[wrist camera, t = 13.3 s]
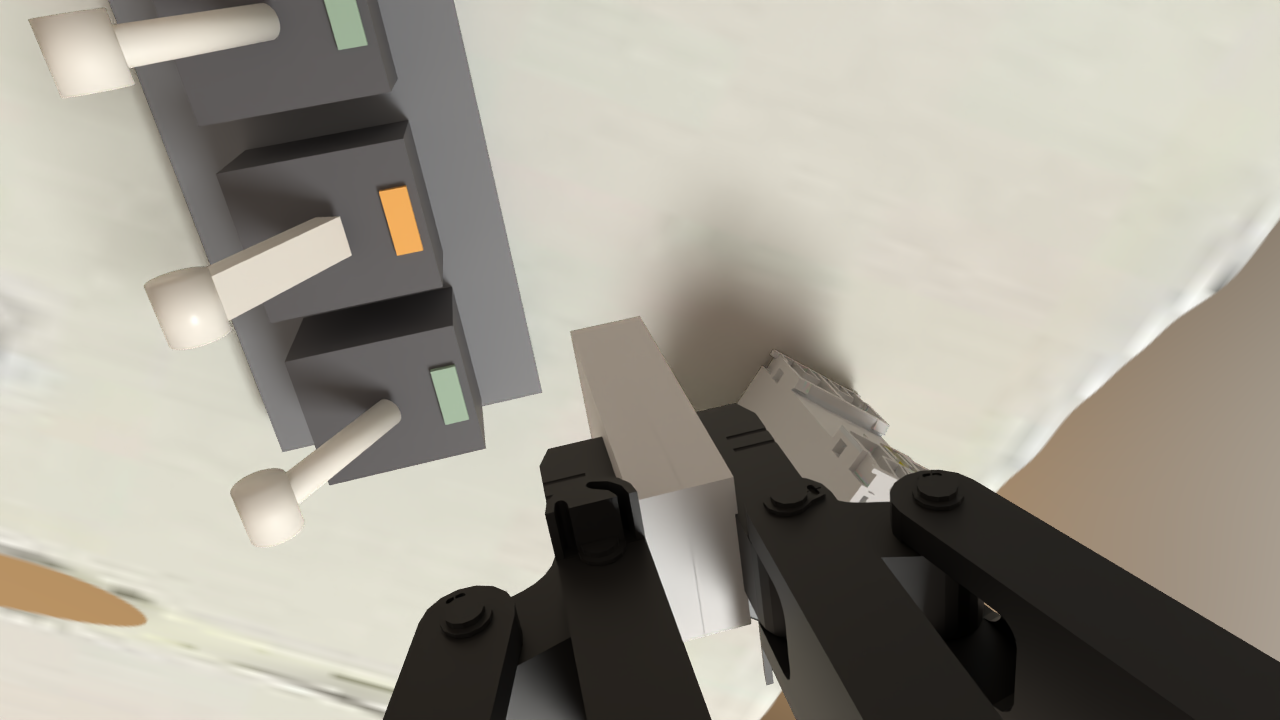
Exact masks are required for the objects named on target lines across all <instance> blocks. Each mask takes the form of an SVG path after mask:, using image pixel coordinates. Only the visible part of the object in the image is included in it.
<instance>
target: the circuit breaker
mask: <svg viewBox="0 0 1280 720" xmlns="http://www.w3.org/2000/svg"><path fill="white" fill-rule="evenodd" d="M770 355H771V356H772V357H774V358H773V360H772V361H771V363H770V364H769V366H768V367H767V368H766V367H764V366H762V367H761V368H760V370H759V371H758V373H757V374H756V376H755V377H754V379H753V380H752V382H751V383H750V385H749V386H748V388H747V389H746V391H745V392H744V394H743V395H742V397H741V398H740V400H739V401H738V403H737V404H739V405H740V406H742V407H744V408H746V409H748V410H750V411H752V412H754V413H756V414H757V416H758V417H759V419H760V420H761V421H762V423H763V424H764V426H765V427H766V430H768V431H769V433H770V434H771V435H772V437H773V438H774V441H775V442H777V444H778V445H779V446H780V448H781V449H782V451H783V452H784V453H785V455H786V456H787V457H788V459H789V460H790V462H791V463H792V464H793V466H794V467H795V469H796V470H797V471H798V473H799V474H800V475H801V477H802V478H808V479H811V480H813V481H816V482H819V483H822V484H823V485H824V486H825V487H826V488H828V489H829V490H830V491H831V492H832V493H833V494H834V496H835V497H836V498H837V500H839V501H844V502H861V503H862V502H889V501H890V490H891V488H892V486H893V485H894V483H895V482H896V481H897V480H899V479H900V478H902V477H903V476H905V475H907V474H911V473H915V472H918V471H923V470H929V469H927V468H925V467H923V466H921V465H919V464H917V463H915V462H914V461H913V460H912V459H911V458H910V457H909V456H907V455H905V454H903V453H901V452H899V451H897V450H895V449H893V448H891V447H890V446H889V445H888V444H887V443H886V442H885V440H884V439H883V438H882V437H881V436H882V435H885V434H886V432H887V430H888V427H889V424H888V423H887V422H886V421H884V420H883V419H882V418H881V417H880V416H879V415H878V414H877V413H876V412H875V411H874V410H873V409H872V408H871V407H870V406H869V405H868V404H867V403H865V402H863V401H862V400H861V399H860V396H859V395H858V394H856V393H855V392H853V391H851V390H849V389H847V388H845V387H843V386H842V385H840V384H838V383H836V382H834V381H832V380H830V379H829V378H827V377H825V376H823V375H821V374H819V373H817V372H816V371H814V370H812V369H810V368H808V367H806V366H804V365H803V364H801V363H799V362H797V361H795V360H793V359H791V358H790V357H788V356H786V355H784V354H782V353H780V352H778V351H777V350H775V349H773V350H772V352H771V353H770ZM748 601H749V599H748ZM749 610H750V618H752V619H754V620H757V621H758V617H757V615H756V613H755V611H754V609H753V607H752V605H751V603H750V601H749Z"/></svg>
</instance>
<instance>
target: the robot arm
mask: <svg viewBox="0 0 1280 720" xmlns="http://www.w3.org/2000/svg"><path fill="white" fill-rule="evenodd" d="M570 333H571V338H572V343H573V348H574V353H575V358H576V363H577V368H578V373H579V378H580V383H581V388H582V393H583V398H584V403H585V408H586V413H587V418H588V423H589V428H590V433H591V438H592V439H589V440H585V441H580V442H576V443H572V444H568V445H563V446H559V447H555V448H551V449H548V450H547V452H546V454H545V456H544V458H543V460H542V462H541V464H540V471H541V477H542V482H543V487H544V492H545V497H546V503H547V504H546V511H545V516H546V520H547V524H548V529H549V533H550V537H551V541H552V545H553V550H554V554H555V558H554V561H553V564H552V566H551V568H550V569H549V570H548V572H547V573H546V574H545V575H544V576H543V577H542V578H541V579H540V580H539V581H538V582H536V583H535V584H534V585H532V586H530V587H529V588H527V589H526V590H524V591H522V592H520V593H518V594H516V595H514V596H512V597H510V596H509V594H508V593H507V592H506V591H504V590H501V589H499V588H496V587H494V586H472V587H468V588H464V589H459V590H457V591H455V592H453V593H450V594H448V595H446V596H444V597H442V598H441V599H439V600H438V601H437V602H436V603H435V604H433V605H432V606H431V607H430V608H429V609H428V610H427V611H426V612H425V614H424V616H423V617H422V619H421V620H420V622H419V624H418V627H417V629H416V632H415V635H414V637H413V640H412V643H411V645H410V648H409V651H408V653H407V656H406V659H405V662H404V664H403V667H402V670H401V672H400V675H399V678H398V680H397V683H396V686H395V688H394V691H393V694H392V696H391V699H390V702H389V704H388V707H387V710H386V713H385V715H384V718H383V720H711V717H710V714H709V712H708V709H707V706H706V703H705V701H704V698H703V695H702V692H701V690H700V687H699V684H698V681H697V679H696V676H695V673H694V670H693V668H692V665H691V662H690V659H689V657H688V654H687V651H686V648H685V646H684V643H683V642H686V641H689V640H693V639H697V638H701V637H704V636H708V635H712V634H716V633H719V632H723V631H727V630H730V629H734V628H738V627H742V626H745V625H749V624H751V618H750V610H749V601H750V603H751V605H752V607H753V609H754V611H755V613H756V615H757V617H758V623H759V632H760V640H761V649H762V658H763V666H764V674H765V680H766V685H769V684H773V674H772V670H773V672H774V674H775V676H776V678H777V680H778V682H779V684H780V686H781V689H782V691H783V693H784V695H785V697H786V699H787V701H788V703H789V705H790V708H791V710H792V712H793V714H794V716H795V718H796V720H1280V662H1279V661H1277V660H1275V659H1273V658H1272V657H1270V656H1269V655H1267V654H1265V653H1263V652H1261V651H1260V650H1258V649H1257V648H1255V647H1253V646H1252V645H1250V644H1248V643H1247V642H1245V641H1243V640H1242V639H1240V638H1238V637H1236V636H1235V635H1233V634H1231V633H1230V632H1228V631H1226V630H1225V629H1223V628H1222V627H1220V626H1218V625H1216V624H1215V623H1213V622H1211V621H1210V620H1208V619H1206V618H1204V617H1203V616H1201V615H1200V614H1198V613H1196V612H1195V611H1193V610H1191V609H1189V608H1188V607H1186V606H1185V605H1183V604H1181V603H1180V602H1178V601H1176V600H1175V599H1173V598H1171V597H1169V596H1168V595H1166V594H1164V593H1163V592H1161V591H1159V590H1157V589H1156V588H1154V587H1153V586H1151V585H1149V584H1148V583H1146V582H1144V581H1143V580H1141V579H1139V578H1138V577H1136V576H1134V575H1133V574H1131V573H1129V572H1128V571H1126V570H1124V569H1122V568H1121V567H1119V566H1117V565H1115V564H1114V563H1112V562H1111V561H1109V560H1107V559H1106V558H1104V557H1102V556H1101V555H1099V554H1097V553H1095V552H1094V551H1092V550H1091V549H1089V548H1087V547H1086V546H1084V545H1082V544H1080V543H1079V542H1077V541H1075V540H1074V539H1072V538H1070V537H1069V536H1067V535H1065V534H1063V533H1062V532H1060V531H1059V530H1057V529H1055V528H1054V527H1052V526H1050V525H1049V524H1047V523H1045V522H1044V521H1042V520H1040V519H1039V518H1037V517H1035V516H1033V515H1032V514H1030V513H1028V512H1027V511H1025V510H1023V509H1022V508H1020V507H1018V506H1017V505H1015V504H1013V503H1012V502H1010V501H1008V500H1007V499H1005V498H1003V497H1001V496H1000V495H998V494H997V493H995V492H993V491H992V490H990V489H988V488H986V487H985V486H983V485H981V484H980V483H978V482H976V481H975V480H973V479H971V478H968V477H966V476H964V475H961V474H959V473H955V472H949V471H943V470H923V471H918V472H915V473H911V474H907V475H905V476H903V477H902V478H900V479H899V480H897V481H896V482H895V483H894V485H893V486H892V488H891V490H890V501H889V502H862V503H861V502H844V501H839V500H837V498H836V497H835V496H834V494H833V493H832V492H831V491H830V490H829V489H828V488H826V487H825V486H824V485H823V484H822V483H819V482H816V481H813V480H811V479H808V478H802V477H801V475H800V474H799V473H798V471H797V470H796V469H795V467H794V466H793V464H792V463H791V462H790V460H789V459H788V457H787V456H786V455H785V453H784V452H783V451H782V449H781V448H780V446H779V445H778V444H777V442H775V441H774V438H773V437H772V435H771V434H770V433H769V431H768V430H766V427H765V426H764V424H763V423H762V421H761V420H760V419H759V417H758V416H757V414H756V413H754V412H752V411H750V410H748V409H746V408H744V407H742V406H740V405H739V404H737V403H734V404H730V405H725V406H721V407H717V408H712V409H708V410H704V411H700V412H695V410H694V408H693V406H692V405H691V403H690V401H689V400H688V398H687V396H686V394H685V393H684V391H683V389H682V388H681V386H680V384H679V382H678V381H677V379H676V377H675V376H674V374H673V372H672V370H671V369H670V367H669V365H668V364H667V362H666V360H665V358H664V357H663V355H662V353H661V352H660V350H659V348H658V346H657V345H656V343H655V341H654V340H653V338H652V336H651V334H650V333H649V331H648V329H647V328H646V326H645V324H644V322H643V321H642V319H641V317H640V316H638V317H633V318H629V319H624V320H619V321H615V322H610V323H606V324H601V325H596V326H592V327H587V328H583V329H578V330H574V331H570ZM748 599H749V601H748ZM984 602H985V603H986V604H987V605H989V606H990V607H991V608H993V609H994V610H995V611H997V612H998V613H999V614H1000V615H999V614H998V613H996V612H994V611H992V610H991V609H990V608H988V607H987V606H986V605H984Z"/></svg>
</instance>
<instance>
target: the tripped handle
mask: <svg viewBox="0 0 1280 720" xmlns="http://www.w3.org/2000/svg"><path fill="white" fill-rule="evenodd" d="M351 255H352V254H351V251H350V248H349V244H348V241H347V238H346V235H345V231H344V228H343V225H342V222H341V219H340V216H336V217H315V218H313V219H311V220H308V221H306V222H304V223H302V224H300V225H297V226H295V227H293V228H291V229H289V230H286V231H284V232H282V233H280V234H278V235H275V236H273V237H271V238H269V239H267V240H264V241H262V242H260V243H258V244H256V245H253V246H251V247H249V248H247V249H245V250H242V251H240V252H238V253H236V254H234V255H231V256H229V257H227V258H225V259H223V260H220V261H218V262H216V263H214V264H212V265H209V266H207V267H190V268H185V269H180V270H176V271H173V272H169V273H166V274H163V275H161V276H158V277H156V278H154V279H152V280H150V281H148V282H147V283H145V284H144V288H145V291H146V293H147V295H148V298H149V300H150V302H151V305H152V307H153V310H154V312H155V314H156V317H157V319H158V321H159V324H160V326H161V328H162V331H163V333H164V335H165V338H166V340H167V342H168V345H169V347H170V348H171V349H173V350H186V349H192V348H196V347H200V346H204V345H207V344H209V343H212V342H215V341H217V340H219V339H221V338H223V337H224V336H226V335H227V334H228V333H230V331H231V329H232V328H231V325H230V323H229V321H230V320H232V319H233V318H235V317H237V316H239V315H241V314H243V313H245V312H247V311H248V310H250V309H252V308H254V307H256V306H258V305H260V304H262V303H263V302H265V301H267V300H269V299H271V298H273V297H275V296H277V295H278V294H280V293H282V292H284V291H286V290H288V289H290V288H291V287H293V286H295V285H297V284H299V283H301V282H303V281H305V280H306V279H308V278H310V277H312V276H314V275H316V274H318V273H320V272H321V271H323V270H325V269H327V268H329V267H331V266H333V265H335V264H336V263H338V262H340V261H342V260H344V259H346V258H348V257H350V256H351Z"/></svg>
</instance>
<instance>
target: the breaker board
mask: <svg viewBox="0 0 1280 720" xmlns="http://www.w3.org/2000/svg"><path fill="white" fill-rule="evenodd" d="M109 3H110V6H111V8H112V11H113V13H114V16H115V19H116V21H117V24H115V25H112V23H111V21H110V18H109V16H108V13H107V10H106V8H98V9H90V10H82V11H75V12H68V13H62V14H55V15H49V16H43V17H38V18H33V19H29V20H28V21H29V23H30V25H31V28H32V30H33V32H34V35H35V37H36V39H37V42H38V44H39V46H40V49H41V51H42V53H43V56H44V58H45V60H46V63H47V65H48V67H49V70H50V72H51V74H52V77H53V79H54V81H55V84H56V86H57V89H58V91H59V93H60V96H61V98H70V97H76V96H82V95H88V94H94V93H99V92H104V91H110V90H114V89H119V88H124V87H128V86H132V85H135V83H134V80H133V77H132V75H131V72H130V70H129V68H133V67H134V68H135V70H136V73H137V76H138V78H139V81H140V83H141V86H142V89H143V91H144V94H145V96H146V99H147V102H148V104H149V107H150V109H151V112H152V115H153V117H154V120H155V122H156V125H157V128H158V130H159V133H160V135H161V138H162V141H163V143H164V146H165V148H166V151H167V153H168V156H169V159H170V161H171V164H172V166H173V169H174V172H175V174H176V177H177V179H178V182H179V185H180V187H181V190H182V192H183V195H184V198H185V200H186V203H187V205H188V208H189V211H190V213H191V216H192V218H193V221H194V224H195V226H196V229H197V231H198V234H199V236H200V239H201V242H202V244H203V247H204V249H205V252H206V255H207V257H208V260H209V262H210V265H212V264H214V263H216V262H218V261H220V260H223V259H225V258H227V257H229V256H231V255H234V254H236V253H238V252H240V251H242V250H245V249H247V248H249V247H251V246H253V245H256V244H258V243H260V242H262V241H264V240H267V239H269V238H271V237H273V236H275V235H278V234H280V233H282V232H284V231H286V230H289V229H291V228H293V227H295V226H297V225H300V224H302V223H304V222H306V221H308V220H311V219H313V218H315V217H336V216H340V219H341V222H342V225H343V228H344V231H345V235H346V238H347V241H348V244H349V248H350V251H351V254H352V255H351V256H350V257H348V258H346V259H344V260H342V261H340V262H338V263H336V264H335V265H333V266H331V267H329V268H327V269H325V270H323V271H321V272H320V273H318V274H316V275H314V276H312V277H310V278H308V279H306V280H305V281H303V282H301V283H299V284H297V285H295V286H293V287H291V288H290V289H288V290H286V291H284V292H282V293H280V294H278V295H277V296H275V297H273V298H271V299H269V300H267V301H265V302H263V303H262V304H260V305H258V306H256V307H254V308H252V309H250V310H248V311H247V312H245V313H243V314H241V315H239V316H237V317H235V318H233V319H232V322H233V325H234V327H235V330H236V332H237V335H238V338H239V340H240V343H241V345H242V348H243V351H244V353H245V356H246V358H247V361H248V364H249V366H250V369H251V371H252V374H253V377H254V379H255V382H256V384H257V387H258V390H259V392H260V395H261V397H262V400H263V403H264V405H265V408H266V410H267V413H268V415H269V418H270V421H271V423H272V426H273V428H274V431H275V434H276V436H277V439H278V441H279V444H280V447H281V449H282V452H285V451H290V450H294V449H298V448H303V447H307V446H311V445H315V447H316V450H315V451H314V452H312V453H311V454H310V455H308V456H307V457H306V458H304V459H303V460H302V461H301V462H299V463H298V464H297V465H295V466H294V467H293V468H291V469H290V470H289V471H287V472H285V471H284V470H282V469H278V468H271V469H265V470H261V471H257V472H255V473H252V474H250V475H248V476H246V477H244V478H242V479H241V480H239V481H238V482H237V483H236V484H235V485H234V486H233V487H232V489H231V491H230V494H231V497H232V499H233V501H234V504H235V506H236V508H237V511H238V513H239V515H240V518H241V520H242V522H243V525H244V527H245V529H246V532H247V534H248V536H249V539H250V541H251V543H252V544H253V545H254V546H256V547H262V548H264V547H272V546H276V545H279V544H282V543H284V542H286V541H288V540H290V539H291V538H293V537H294V536H296V535H297V534H298V533H299V532H300V531H301V530H302V529H303V527H304V525H305V520H304V518H303V515H302V513H301V510H300V508H299V504H300V503H301V502H303V501H304V500H305V499H306V498H307V497H309V496H310V495H311V494H312V493H314V492H315V491H316V490H317V489H318V488H320V487H321V486H322V485H323V484H325V483H326V482H327V481H328V483H329V485H333V484H337V483H341V482H346V481H350V480H354V479H358V478H363V477H367V476H371V475H375V474H380V473H384V472H388V471H392V470H397V469H401V468H405V467H409V466H413V465H418V464H422V463H426V462H430V461H435V460H439V459H443V458H447V457H452V456H456V455H460V454H464V453H469V452H473V451H477V450H481V449H486V446H485V435H484V423H483V411H482V406H486V405H490V404H494V403H499V402H503V401H507V400H512V399H516V398H521V397H525V396H529V395H534V394H538V393H542V389H541V385H540V381H539V376H538V372H537V367H536V363H535V358H534V354H533V350H532V345H531V341H530V336H529V332H528V327H527V323H526V319H525V314H524V310H523V305H522V301H521V296H520V292H519V288H518V283H517V279H516V274H515V270H514V265H513V261H512V257H511V252H510V248H509V243H508V239H507V234H506V230H505V226H504V221H503V217H502V212H501V208H500V203H499V199H498V195H497V190H496V186H495V181H494V177H493V172H492V168H491V164H490V159H489V155H488V150H487V146H486V141H485V137H484V133H483V128H482V124H481V119H480V115H479V110H478V106H477V102H476V97H475V93H474V88H473V84H472V79H471V75H470V71H469V66H468V62H467V57H466V53H465V48H464V44H463V40H462V35H461V31H460V26H459V22H458V17H457V13H456V9H455V4H454V0H109Z"/></svg>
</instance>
